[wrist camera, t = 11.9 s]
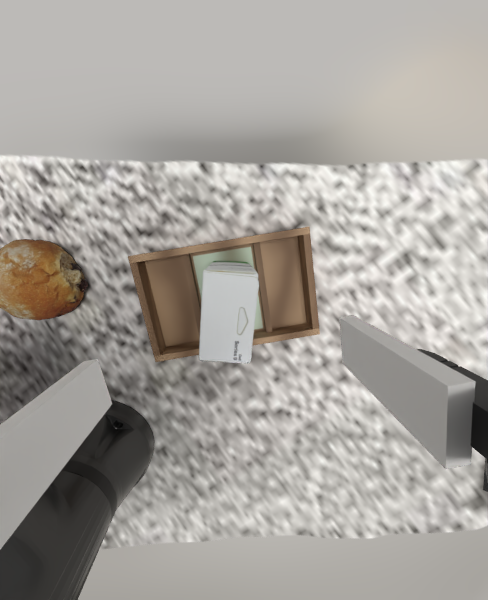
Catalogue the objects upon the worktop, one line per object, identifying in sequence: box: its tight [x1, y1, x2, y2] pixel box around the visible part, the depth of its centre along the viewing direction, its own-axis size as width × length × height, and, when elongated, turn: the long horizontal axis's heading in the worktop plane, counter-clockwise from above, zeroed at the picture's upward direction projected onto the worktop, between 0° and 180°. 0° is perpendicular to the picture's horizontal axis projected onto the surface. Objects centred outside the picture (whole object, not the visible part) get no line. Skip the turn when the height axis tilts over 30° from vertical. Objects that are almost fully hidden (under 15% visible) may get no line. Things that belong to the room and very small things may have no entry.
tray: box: [128, 227, 320, 362], centre depth 31 cm, size 22×14×4 cm, turn 99°
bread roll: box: [0, 239, 88, 320], centre depth 29 cm, size 10×10×8 cm
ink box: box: [199, 261, 259, 363], centre depth 26 cm, size 9×5×12 cm, turn 176°
